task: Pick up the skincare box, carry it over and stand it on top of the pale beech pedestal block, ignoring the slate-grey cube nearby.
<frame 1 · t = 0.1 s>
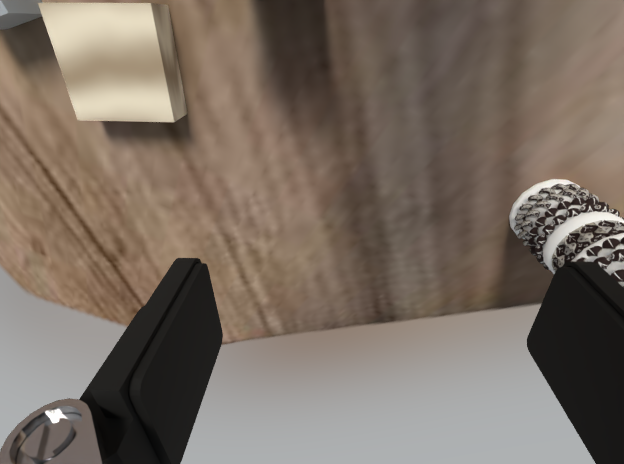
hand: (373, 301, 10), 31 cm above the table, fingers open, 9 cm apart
decorative candle: (545, 210, 42), on the table
pedestal: (132, 62, 36), on the table
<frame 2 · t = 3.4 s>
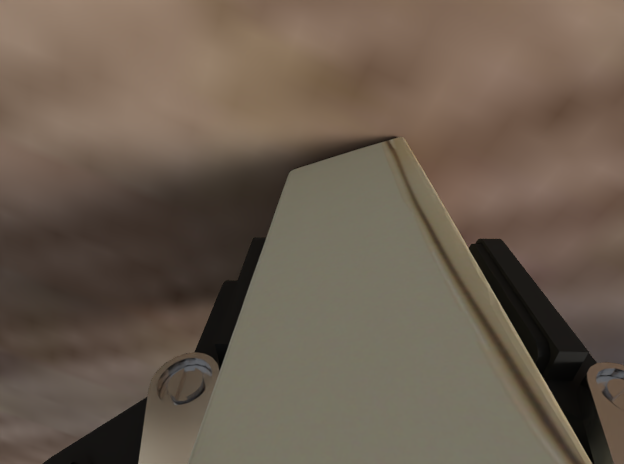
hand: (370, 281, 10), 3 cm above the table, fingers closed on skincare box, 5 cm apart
skincare box: (360, 220, 14), on the table, touching gripper
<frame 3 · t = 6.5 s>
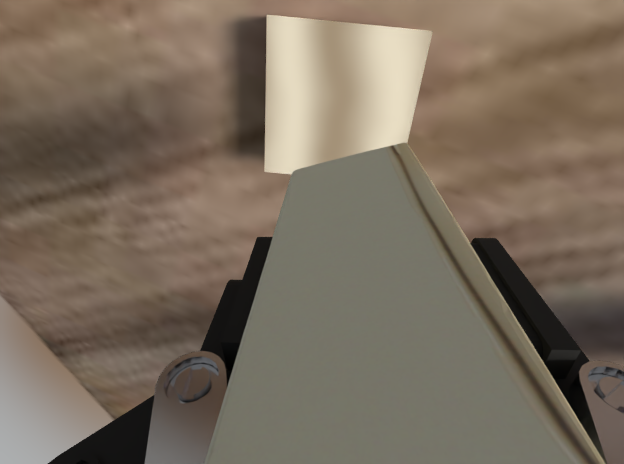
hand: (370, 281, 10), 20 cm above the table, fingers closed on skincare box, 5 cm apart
pedestal: (338, 98, 27), on the table
skincare box: (360, 223, 14), point 16 cm above the table, touching gripper
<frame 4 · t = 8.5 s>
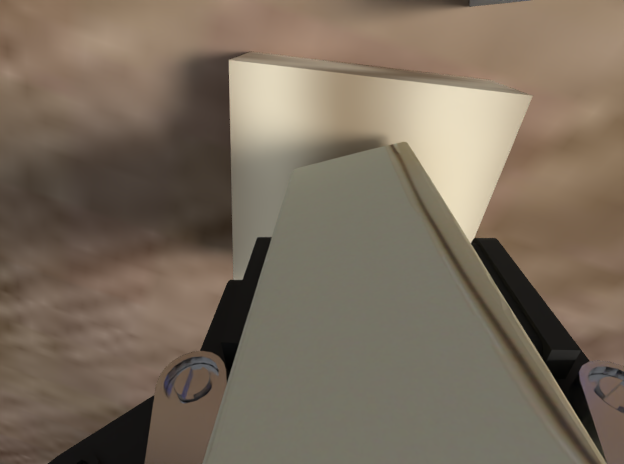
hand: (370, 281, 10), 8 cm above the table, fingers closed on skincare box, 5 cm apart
pedestal: (350, 174, 17), on the table
skincare box: (360, 222, 14), point 4 cm above the table, touching gripper
when the fingers open (8 cm above the table, at t = 9.9 s): skincare box stays where it is, point 3 cm above the table.
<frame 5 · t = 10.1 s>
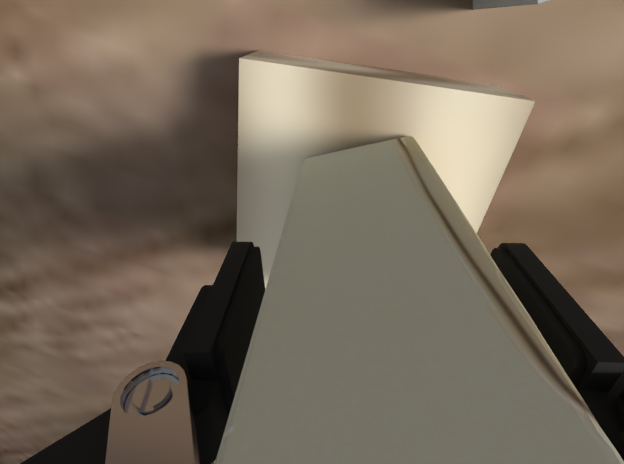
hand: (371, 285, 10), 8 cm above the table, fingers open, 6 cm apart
pedestal: (354, 174, 18), on the table
skincare box: (365, 212, 14), point 3 cm above the table
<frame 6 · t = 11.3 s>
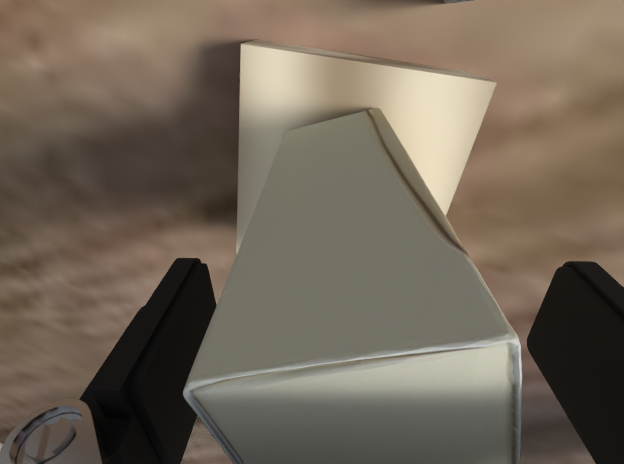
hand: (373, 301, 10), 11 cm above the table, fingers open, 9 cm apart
pedestal: (343, 154, 19), on the table
skincare box: (342, 180, 16), point 3 cm above the table
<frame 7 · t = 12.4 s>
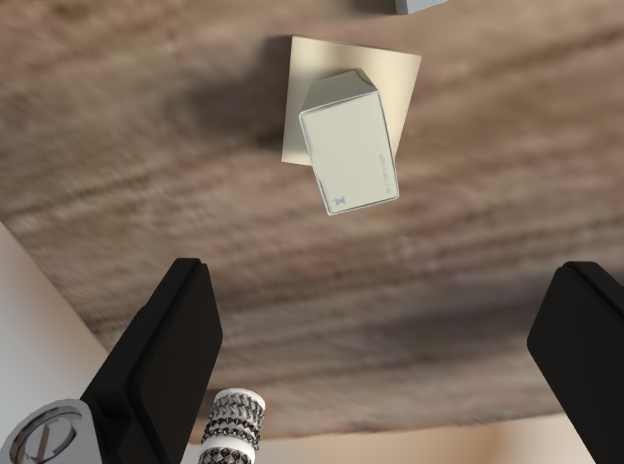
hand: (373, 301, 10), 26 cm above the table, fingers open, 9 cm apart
decorative candle: (239, 402, 57), on the table
pedestal: (344, 103, 32), on the table, touching skincare box
skincare box: (342, 111, 29), point 3 cm above the table, touching pedestal
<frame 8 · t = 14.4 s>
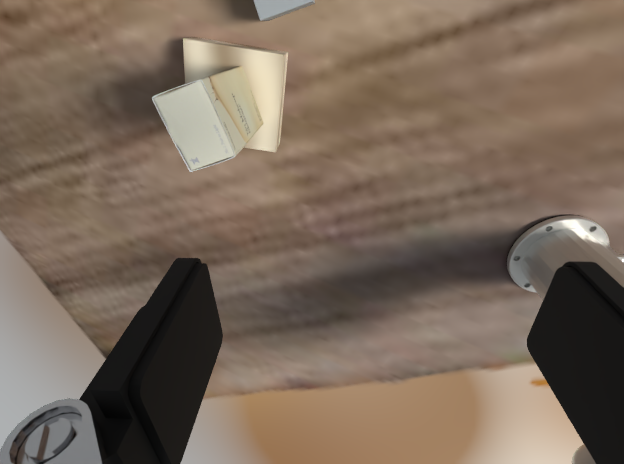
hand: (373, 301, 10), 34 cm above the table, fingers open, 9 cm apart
pedestal: (241, 92, 40), on the table, touching skincare box
skincare box: (234, 100, 37), point 3 cm above the table, touching pedestal
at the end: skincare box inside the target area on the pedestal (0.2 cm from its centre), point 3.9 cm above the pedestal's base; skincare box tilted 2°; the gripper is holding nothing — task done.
